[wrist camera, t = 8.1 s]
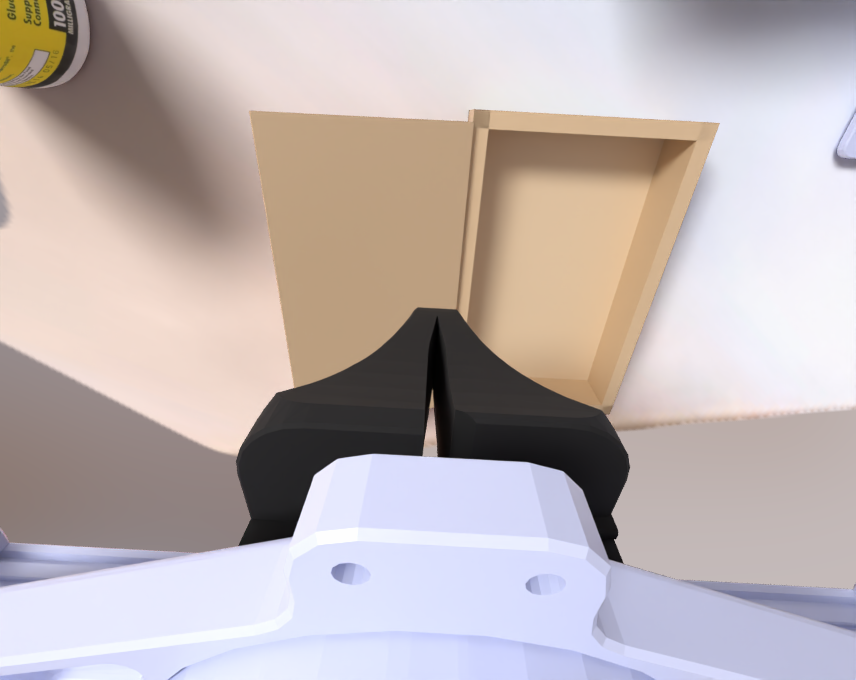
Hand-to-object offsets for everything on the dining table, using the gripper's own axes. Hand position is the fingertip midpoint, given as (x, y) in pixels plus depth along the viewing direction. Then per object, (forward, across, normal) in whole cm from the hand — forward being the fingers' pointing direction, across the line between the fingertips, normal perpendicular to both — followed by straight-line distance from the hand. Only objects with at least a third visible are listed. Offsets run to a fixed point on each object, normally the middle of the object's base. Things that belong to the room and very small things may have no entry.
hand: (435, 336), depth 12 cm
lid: (+4, +2, +1) cm, 5 cm away
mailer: (+9, -6, +1) cm, 10 cm away
